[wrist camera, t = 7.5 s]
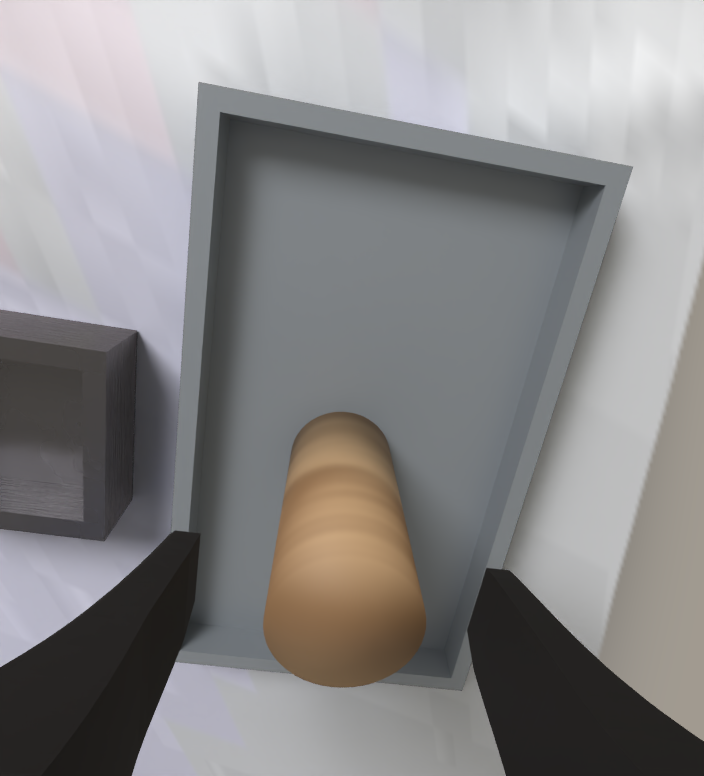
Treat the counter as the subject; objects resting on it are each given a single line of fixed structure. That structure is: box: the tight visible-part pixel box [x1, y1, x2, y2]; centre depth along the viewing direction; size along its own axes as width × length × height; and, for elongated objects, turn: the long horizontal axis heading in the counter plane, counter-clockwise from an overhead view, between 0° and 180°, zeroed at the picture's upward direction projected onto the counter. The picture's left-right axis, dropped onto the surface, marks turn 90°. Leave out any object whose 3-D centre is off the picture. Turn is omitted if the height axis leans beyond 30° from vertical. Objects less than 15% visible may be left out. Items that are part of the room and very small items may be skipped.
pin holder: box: [0, 310, 137, 541], centre depth 18 cm, size 7×7×3 cm
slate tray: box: [171, 82, 633, 691], centre depth 19 cm, size 20×12×2 cm, turn 170°
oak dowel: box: [263, 412, 426, 687], centre depth 15 cm, size 4×4×8 cm
